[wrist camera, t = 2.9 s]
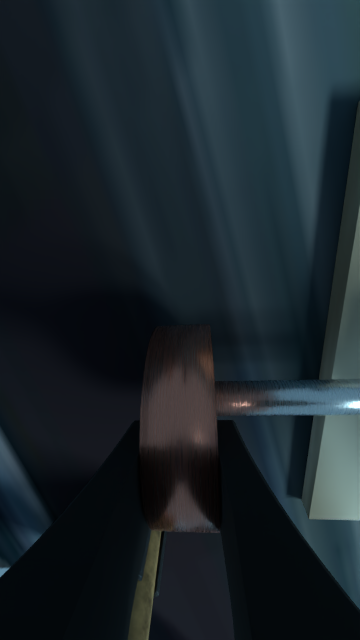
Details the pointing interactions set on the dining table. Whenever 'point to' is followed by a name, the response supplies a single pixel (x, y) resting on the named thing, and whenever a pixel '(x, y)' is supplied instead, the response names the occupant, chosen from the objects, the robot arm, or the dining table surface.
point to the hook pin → (207, 423)
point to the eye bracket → (340, 372)
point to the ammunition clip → (147, 585)
